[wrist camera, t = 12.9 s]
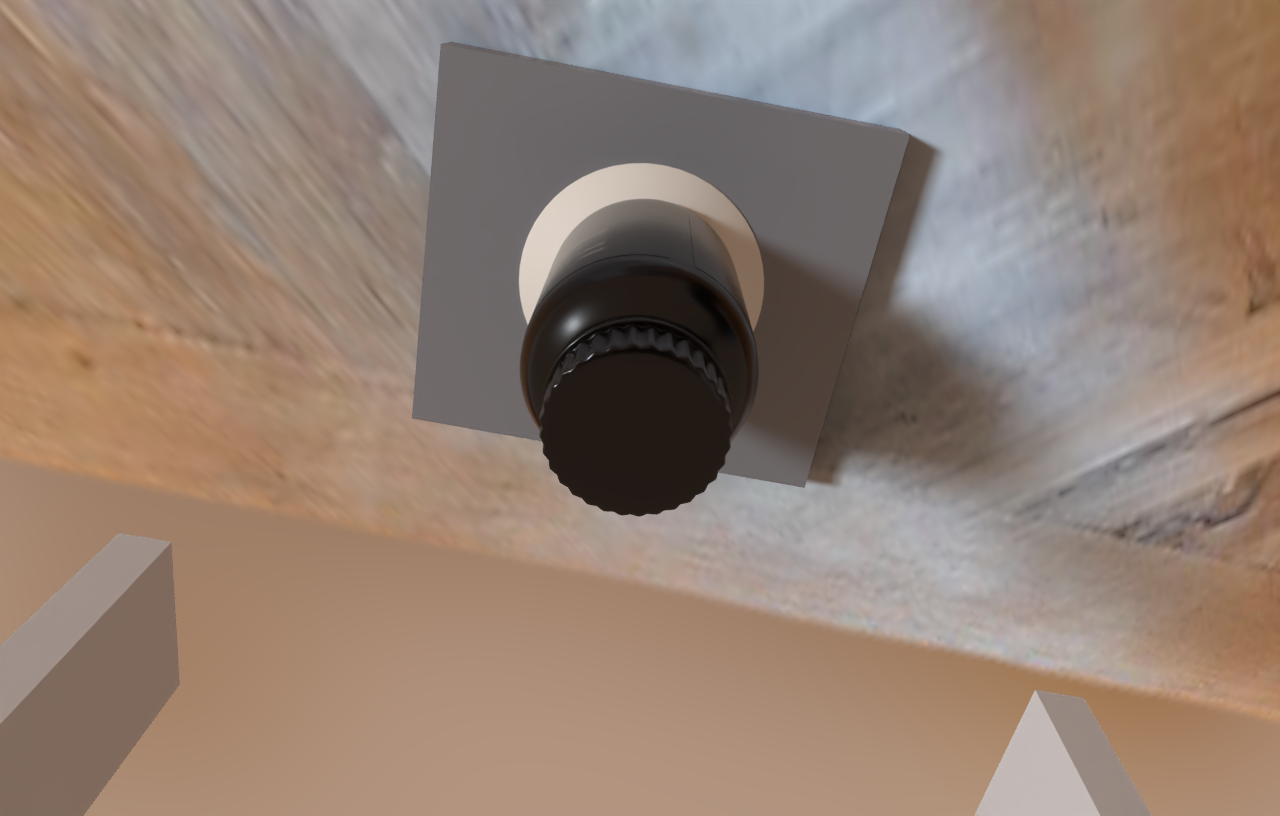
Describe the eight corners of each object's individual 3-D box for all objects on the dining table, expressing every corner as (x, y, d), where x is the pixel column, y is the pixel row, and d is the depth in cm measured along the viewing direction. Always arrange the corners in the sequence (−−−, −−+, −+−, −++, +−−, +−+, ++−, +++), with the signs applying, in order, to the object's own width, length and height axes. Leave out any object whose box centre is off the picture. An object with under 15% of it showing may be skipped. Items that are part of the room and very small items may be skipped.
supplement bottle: (574, 387, 34) (526, 568, 23) (533, 213, 31) (457, 325, 20) (751, 359, 33) (788, 532, 22) (725, 178, 30) (753, 275, 20)
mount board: (899, 129, 31) (910, 135, 30) (799, 469, 37) (804, 488, 35) (451, 41, 30) (440, 43, 29) (422, 402, 36) (411, 419, 35)
